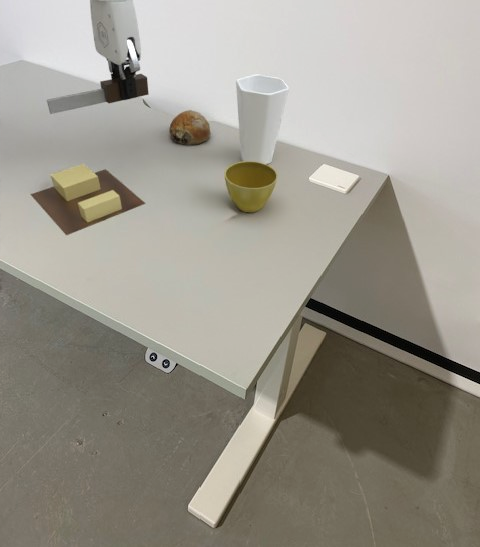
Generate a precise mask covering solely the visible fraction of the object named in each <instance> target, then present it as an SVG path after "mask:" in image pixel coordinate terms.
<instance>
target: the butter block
mask: <svg viewBox="0 0 480 547" xmlns="http://www.w3.org/2000/svg"><path fill="white" fill-rule="evenodd" d="M49 176H50V179H51V183H52V187H54V188H55V189H56V190H57V191H58V192H59V193H60V194H61V195H62V196H63V197H64V199H65V200H66V201H69V200H72V199H75V198H78V197H81V196H83V195H86V194H89V193H92V192H95V191H97V190H100V184H99V179H98V176H97V175H96V174H95V172H94V171H93V170H91V169H90V168H89V166H87V165H86V164H85V163H82V164H78V165H76V166H73V167H69V168H66V169H62V170H60V171H56V172H54V173H50V174H49Z"/></svg>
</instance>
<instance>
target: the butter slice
mask: <svg viewBox="0 0 480 547" xmlns="http://www.w3.org/2000/svg"><path fill="white" fill-rule="evenodd" d="M78 206H79V210H80V213H81V216H82V217H83V219H84V220H85V221H86V222H87V223H88V222H91V221H93V220H96V219H98V218H101V217H103V216H106V215H108V214H111V213H113V212H116V211H118V210H121V209H122V207H121V201H120V196H119V195H118V194H117V193H116V192H115V191H114V190H111V191H109V192H106V193H103V194H101V195H98V196H95V197H92V198H90V199H87V200H84V201H81V202H79V203H78Z"/></svg>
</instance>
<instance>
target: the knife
mask: <svg viewBox="0 0 480 547" xmlns="http://www.w3.org/2000/svg"><path fill="white" fill-rule="evenodd" d="M119 79H120V78H116V79H106V80H100V81H99V83H100V88H99V89H98V88H97V89H93V90H88V91H83V92H77V93H72V94H68V95H63V96H58V97H54V98H47V99H46V103H47V107H48V111H49V114H50V115H53V114H58V113H63V112H67V111H71V110H76V109H81V108H85V107H91V106H94V105H95V106H96V105H99V104H105V103H107V104H113V103H117V102H121V101H124V100H123V99H122V98H121V91H120V84H119ZM135 82H136V90H137V97H136V98H139V97H144V96H145V97H146V96H149V93H150V92H149V82H148V77H147V76H146V75H144V74H143V73H136V77H135Z"/></svg>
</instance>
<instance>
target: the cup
mask: <svg viewBox="0 0 480 547" xmlns="http://www.w3.org/2000/svg"><path fill="white" fill-rule="evenodd" d="M235 85H236V86H235V87H236V100H237V101H236V102H237V103H236V104H237V114H238V115H237V117H238V118H237V119H238V132H239V135H238V136H239V146H240V147H239V150H240V158H241V160H242V162H243V161H255V162H260V163H264V164H267V165H269V164H271V163H272V161H273V158H274V153H275V149H276V146H277V142H278V136H279V132H280V128H281V124H282V119H283V115H284V111H285V108H286V103H287V99H288V95H289V92H290V91H289V90H290V87H289V86H288V85H287V83H286V82H285V81H284V80H283V78H281V77H276V76H270V75H264V74H258V73H256V74H251V75H247V76H243V77H240V78H237V79H236V80H235Z"/></svg>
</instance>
